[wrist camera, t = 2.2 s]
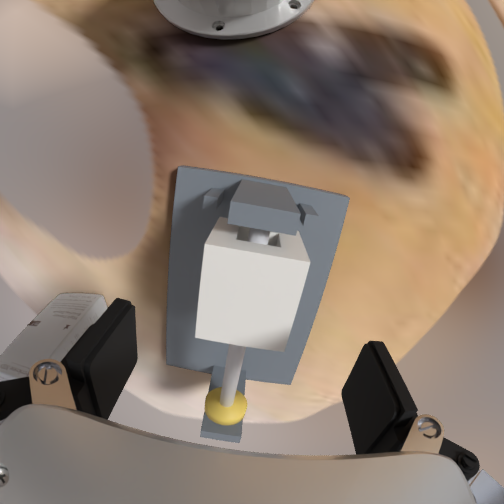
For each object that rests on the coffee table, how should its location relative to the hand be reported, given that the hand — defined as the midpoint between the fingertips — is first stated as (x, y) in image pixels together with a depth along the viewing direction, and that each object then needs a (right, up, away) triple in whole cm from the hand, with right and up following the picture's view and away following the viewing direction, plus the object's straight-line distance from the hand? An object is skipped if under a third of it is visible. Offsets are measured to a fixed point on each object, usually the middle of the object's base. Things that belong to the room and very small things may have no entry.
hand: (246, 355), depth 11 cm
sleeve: (0, +3, +6) cm, 7 cm away
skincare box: (-16, -2, +14) cm, 22 cm away
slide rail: (0, +1, +12) cm, 12 cm away
